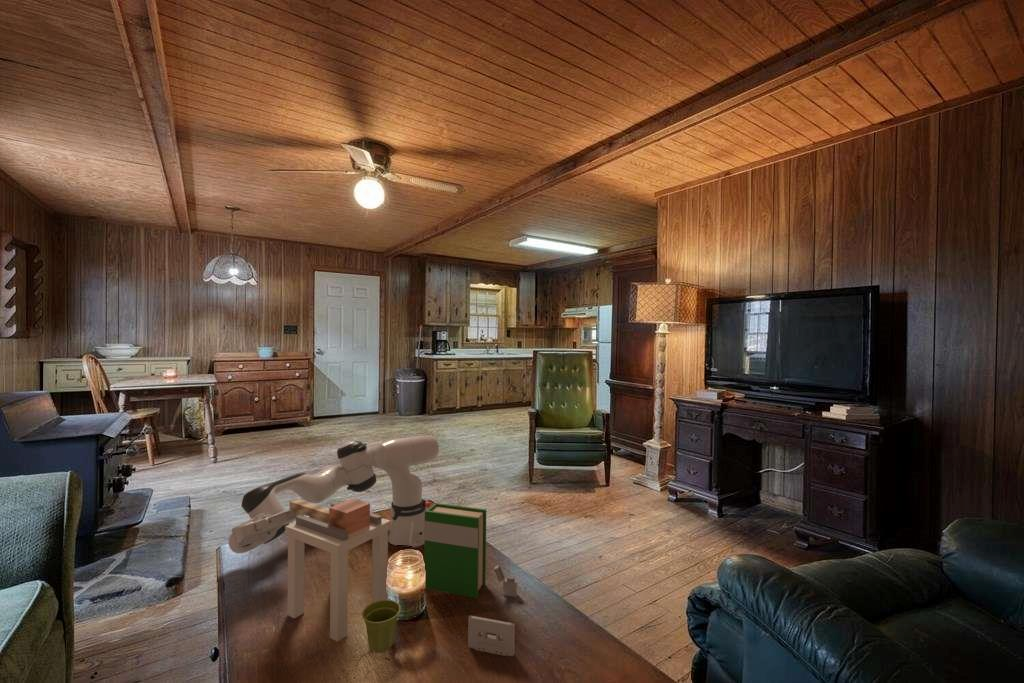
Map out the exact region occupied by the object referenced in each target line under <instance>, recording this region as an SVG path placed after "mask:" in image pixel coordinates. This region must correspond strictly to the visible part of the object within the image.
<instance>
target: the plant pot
mask: <svg viewBox="0 0 1024 683" xmlns="http://www.w3.org/2000/svg"><path fill="white" fill-rule="evenodd" d="M401 608H402V607H401V605H400V603H399V602H398V601H395V600H392V599H387V600H380V601H376V602H373V603H372V602H371V603H370V604H368V605H367V606H365V608H364V609H363V610H362V613H361V617H362V619H363V620H364V624H365V627H366V628H365V629H366V635H367V642H368V647H369V649H370V651H374V652H375V653H383V652H386V651H388V650H389V649H390V648H391V647H392V646H393V645H395V644H394V643H395V637H396V630H397V622H398V618H399V614H400V613H401Z"/></svg>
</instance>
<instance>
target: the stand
mask: <svg viewBox="0 0 1024 683" xmlns="http://www.w3.org/2000/svg"><path fill="white" fill-rule="evenodd" d="M338 504H340V503H339V502H332V503H330V507H333V506H335V505H338ZM391 522H392V520H390V519H386V518H382V515H380V514H376V513H373V512H370V525H368V526H366V527H364V528H362V529H359V530H357V531H355V532H353V533H351V534H349V535H348V531H346V530H344V529H341V528H338V527H335V526H332V525H329V523H328V522H325V521H322V520H319V519H316V518H313V517H310V516H306V515H304V516H302V515H299V516H297V517H296V520H295V521H294V522H292V523H289V525H287V526H285V532H284V535H285V536H286V537H287V616H288V617H290V618H292V619H296V618H298V617H300V616H301V615H303V614H305V544H307V545H309V546H312V547H314V548H317V549H320V550H322V551H324V552H326V553H327V552H328V553H330V562H329V564H330V568H329V570H330V572H329V574H330V575H329V576H330V577H329V579H330V582H329V586H330V587H329V589H330V590H329V591H330V592H329V596H330V597H329V603H330V604H329V638H330V639H332V640H333V641H335V642H340V641H341V640H342V639H344V638H345V637H347V636H348V611H349V610H348V604H349V602H348V600H349V597H348V596H349V594H348V591H349V590H348V589H349V582H348V581H349V574H348V573H349V572H348V571H349V551H350V550H352V549H354V548H356V547H359V546H360V545H362V544H364V543H366V542H368V541H370V540H372V545H371V546H372V549H371V551H372V552H371V553H372V554H371V555H372V556H371V557H372V558H371V560H372V563H371V565H372V566H371V572H372V573H371V603H373V602H376V601H380V600H388V592H387V593H386V578H387V567H388V566H389V565H388V562H389V561H388V560H389V559H388V558H389V557H388V556H389V553H388V552H389V541H388V537H389V531H390V529H391ZM388 568H389V567H388Z"/></svg>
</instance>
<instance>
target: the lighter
mask: <svg viewBox="0 0 1024 683" xmlns="http://www.w3.org/2000/svg"><path fill="white" fill-rule="evenodd" d="M493 571H494V572H495V575H496V578H497V580H498V582H499V583H500V582H502V596H506V597H507V596H508V597H512V598H517V596H518V579H515V578H514V576H510V575H507V577H505V576H504V573H503V570H502V568H501V566H500V565H496V566H495V567H494V568H493Z"/></svg>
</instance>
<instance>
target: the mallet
mask: <svg viewBox="0 0 1024 683" xmlns="http://www.w3.org/2000/svg"><path fill="white" fill-rule="evenodd" d="M288 506H289V509H288V510H292V511H295V512H298V513H301V514H304V516H306V517H313V518H316V519H319V520H322V521H325V522H328V523H329V525H332V526H335V527H338V528H341V529H344V530H346V531H348V535H349V534H351V533H353V532H355V531H357V530H359V529H362V528H364V527H366V526H368V525H370V513H371V504H370V503H369V502H366V501H362V500H359V499H355V498H352V499H349V500H345V501H343V502H342V503H339V504H338V505H335V506H333V507H331V506H330V507H324V506H321V505H317V504H316V503H310V502H307V501H305V500H303V499H302V500H301V499H299V498H295V499H293V500H291V501H289V505H288Z"/></svg>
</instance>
